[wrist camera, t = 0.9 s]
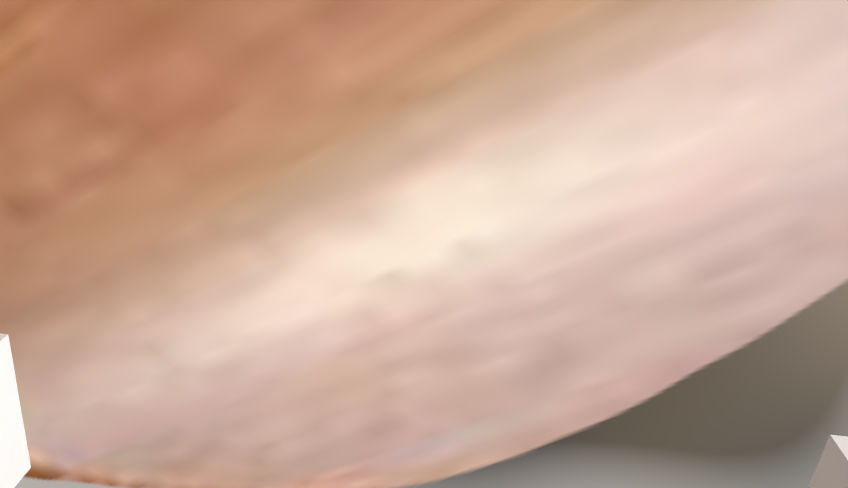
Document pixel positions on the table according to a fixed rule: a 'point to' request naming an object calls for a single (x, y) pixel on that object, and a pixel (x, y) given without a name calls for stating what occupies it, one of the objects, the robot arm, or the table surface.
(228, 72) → the table surface
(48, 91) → the table surface
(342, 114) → the table surface
